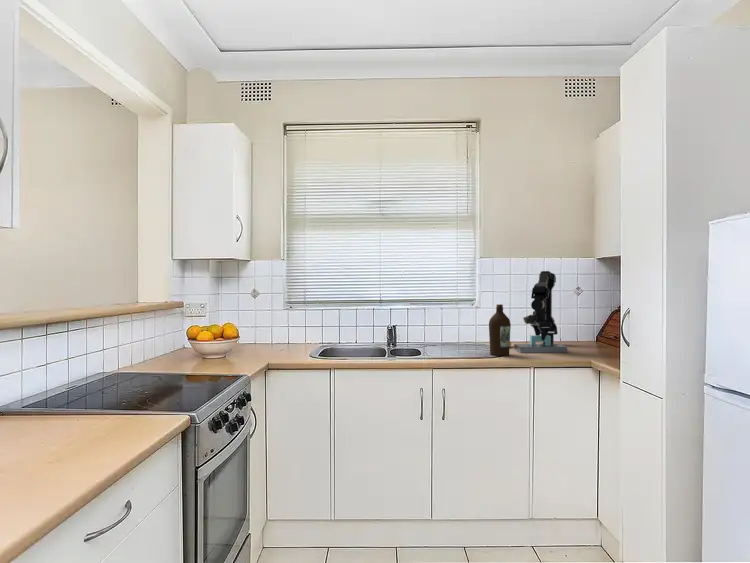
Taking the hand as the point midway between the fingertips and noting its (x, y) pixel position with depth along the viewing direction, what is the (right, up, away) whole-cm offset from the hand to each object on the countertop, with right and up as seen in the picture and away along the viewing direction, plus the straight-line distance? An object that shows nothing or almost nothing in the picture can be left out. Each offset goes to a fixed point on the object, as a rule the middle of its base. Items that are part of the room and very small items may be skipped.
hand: (540, 339), depth 294 cm
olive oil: (-24, -7, -12) cm, 28 cm away
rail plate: (0, -6, 0) cm, 6 cm away
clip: (0, -6, 0) cm, 6 cm away
